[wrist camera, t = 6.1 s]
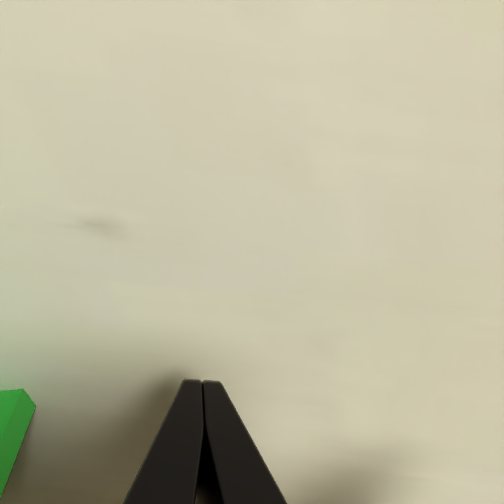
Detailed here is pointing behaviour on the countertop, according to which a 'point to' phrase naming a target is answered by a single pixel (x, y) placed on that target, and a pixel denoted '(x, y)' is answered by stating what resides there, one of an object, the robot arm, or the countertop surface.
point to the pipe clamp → (12, 428)
